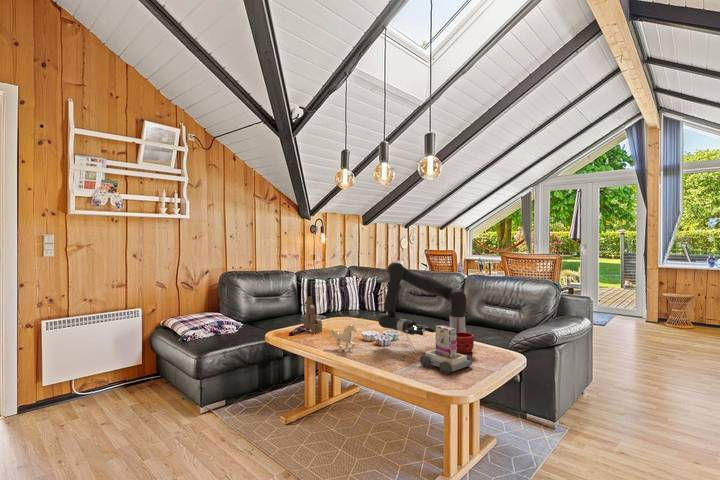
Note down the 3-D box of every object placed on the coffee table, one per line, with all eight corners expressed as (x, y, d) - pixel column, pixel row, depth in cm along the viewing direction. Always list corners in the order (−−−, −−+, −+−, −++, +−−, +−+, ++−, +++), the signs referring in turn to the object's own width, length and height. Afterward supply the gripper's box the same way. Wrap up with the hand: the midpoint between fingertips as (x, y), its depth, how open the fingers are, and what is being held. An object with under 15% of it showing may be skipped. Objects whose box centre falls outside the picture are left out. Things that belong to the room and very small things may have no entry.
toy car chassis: (442, 358, 209) (442, 346, 209) (473, 368, 193) (473, 355, 193) (419, 365, 198) (419, 352, 198) (450, 376, 182) (450, 362, 182)
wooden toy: (322, 332, 267) (322, 296, 267) (314, 334, 263) (314, 297, 262) (309, 328, 279) (309, 294, 278) (302, 330, 274) (301, 295, 274)
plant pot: (476, 354, 216) (476, 333, 216) (470, 360, 204) (470, 338, 204) (453, 350, 222) (453, 330, 222) (446, 357, 211) (446, 335, 211)
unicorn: (327, 348, 230) (327, 319, 229) (331, 346, 233) (331, 318, 233) (355, 353, 219) (354, 323, 218) (358, 351, 222) (358, 322, 222)
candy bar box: (457, 361, 192) (457, 328, 191) (450, 363, 189) (449, 330, 189) (442, 355, 201) (442, 324, 201) (435, 357, 199) (434, 325, 199)
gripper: (397, 321, 213) (419, 327, 200) (415, 318, 222) (437, 323, 209) (397, 335, 213) (419, 341, 200) (415, 331, 222) (437, 336, 209)
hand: (428, 332), depth 205 cm, fingers open, 8 cm apart
